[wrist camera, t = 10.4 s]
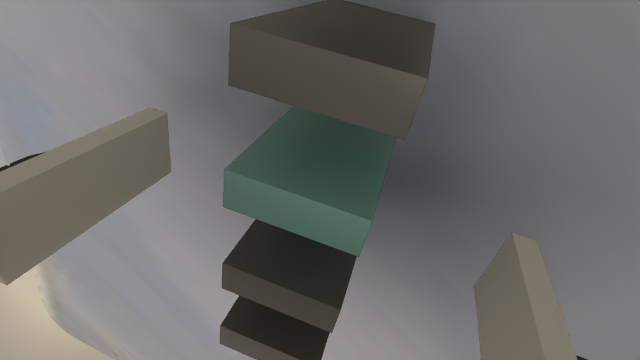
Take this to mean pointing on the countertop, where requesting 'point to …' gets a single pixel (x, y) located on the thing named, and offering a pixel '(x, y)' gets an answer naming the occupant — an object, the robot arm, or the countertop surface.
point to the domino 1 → (336, 62)
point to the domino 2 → (312, 178)
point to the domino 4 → (270, 333)
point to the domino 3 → (289, 274)
